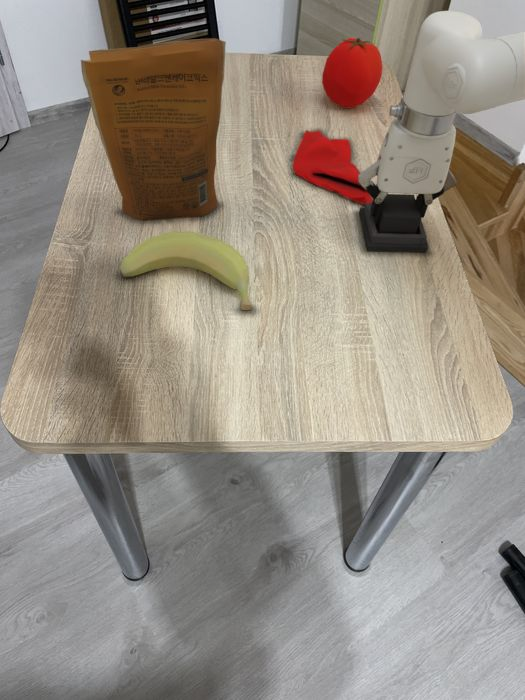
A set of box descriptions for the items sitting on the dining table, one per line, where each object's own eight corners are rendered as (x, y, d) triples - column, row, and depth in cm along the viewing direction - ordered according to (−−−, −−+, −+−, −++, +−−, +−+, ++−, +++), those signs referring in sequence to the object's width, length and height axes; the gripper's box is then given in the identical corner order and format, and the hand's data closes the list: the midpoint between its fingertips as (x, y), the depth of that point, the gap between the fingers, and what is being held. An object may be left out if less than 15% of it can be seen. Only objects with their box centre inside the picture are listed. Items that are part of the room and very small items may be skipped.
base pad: (415, 214, 95) (419, 201, 93) (426, 252, 89) (431, 240, 86) (358, 212, 94) (361, 200, 92) (366, 251, 88) (369, 238, 86)
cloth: (279, 134, 109) (280, 123, 107) (344, 130, 111) (346, 119, 109) (309, 214, 93) (311, 204, 91) (384, 208, 95) (387, 198, 94)
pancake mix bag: (229, 221, 91) (229, 46, 69) (114, 229, 89) (75, 51, 67) (224, 197, 95) (222, 24, 73) (114, 204, 93) (77, 27, 71)
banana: (175, 200, 82) (275, 273, 77) (181, 222, 87) (275, 291, 82) (110, 260, 79) (211, 340, 73) (120, 278, 84) (215, 355, 79)
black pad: (409, 210, 92) (414, 194, 89) (415, 233, 88) (421, 217, 85) (374, 209, 91) (378, 193, 89) (379, 232, 88) (383, 216, 85)
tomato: (315, 90, 121) (323, 26, 110) (368, 90, 122) (381, 27, 111) (323, 118, 114) (333, 52, 103) (380, 117, 115) (395, 52, 104)
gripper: (369, 127, 72) (346, 232, 87) (494, 131, 73) (451, 235, 87) (361, 99, 77) (341, 203, 91) (479, 103, 78) (441, 206, 92)
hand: (395, 218), depth 89 cm, fingers closed on black pad, 5 cm apart
